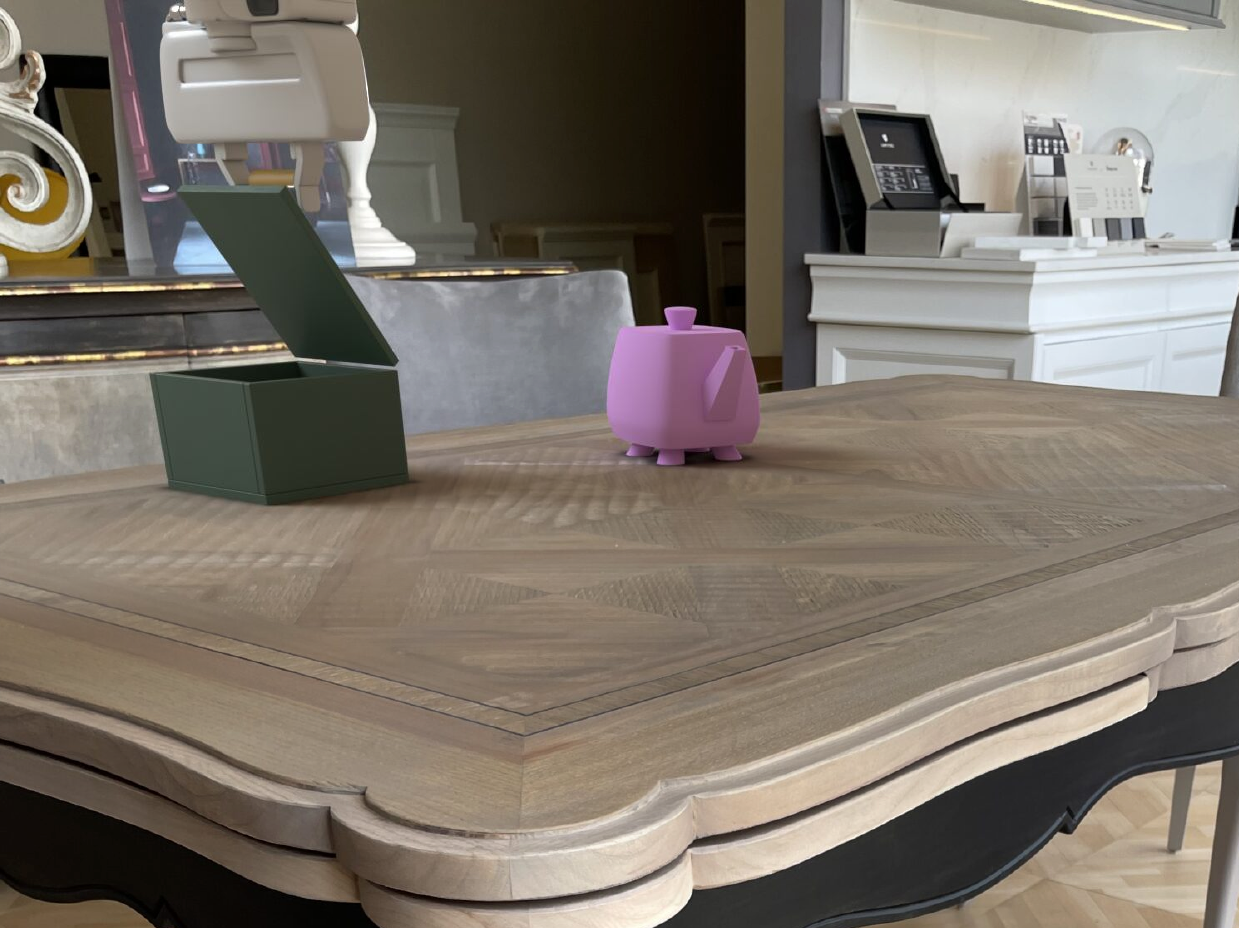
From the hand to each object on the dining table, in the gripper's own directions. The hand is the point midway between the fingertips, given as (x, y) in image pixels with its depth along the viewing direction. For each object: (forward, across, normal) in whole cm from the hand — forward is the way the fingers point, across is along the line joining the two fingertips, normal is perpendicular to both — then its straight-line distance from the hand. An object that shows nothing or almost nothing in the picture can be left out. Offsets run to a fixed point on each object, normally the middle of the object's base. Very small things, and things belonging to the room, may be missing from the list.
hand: (277, 211), depth 122 cm
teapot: (+21, +15, +31) cm, 40 cm away
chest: (+20, 0, -3) cm, 20 cm away
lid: (+5, 0, 0) cm, 5 cm away
